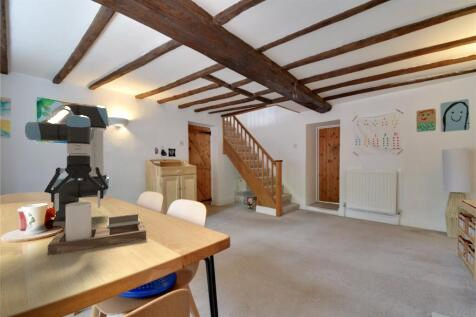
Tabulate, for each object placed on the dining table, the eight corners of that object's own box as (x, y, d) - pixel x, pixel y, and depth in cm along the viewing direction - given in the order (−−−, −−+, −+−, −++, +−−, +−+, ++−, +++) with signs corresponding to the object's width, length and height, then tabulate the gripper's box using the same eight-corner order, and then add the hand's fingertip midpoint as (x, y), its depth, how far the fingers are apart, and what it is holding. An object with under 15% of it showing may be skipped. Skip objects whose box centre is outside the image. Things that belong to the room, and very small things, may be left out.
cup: (96, 240, 90) (96, 202, 90) (79, 248, 82) (79, 206, 82) (77, 239, 91) (77, 201, 91) (59, 247, 83) (59, 205, 83)
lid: (108, 220, 106) (108, 212, 106) (137, 216, 113) (137, 209, 113) (107, 227, 95) (107, 218, 95) (139, 223, 101) (139, 215, 101)
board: (64, 232, 100) (64, 224, 100) (140, 222, 115) (140, 215, 115) (47, 255, 76) (47, 245, 76) (146, 239, 92) (146, 230, 92)
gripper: (33, 154, 77) (33, 214, 77) (114, 155, 89) (114, 207, 89) (40, 154, 83) (40, 210, 83) (115, 155, 95) (115, 203, 95)
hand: (78, 208), depth 86 cm, fingers open, 13 cm apart
